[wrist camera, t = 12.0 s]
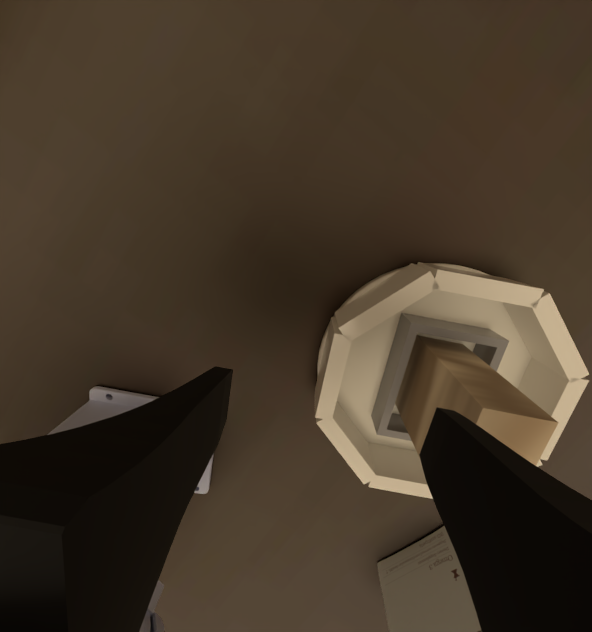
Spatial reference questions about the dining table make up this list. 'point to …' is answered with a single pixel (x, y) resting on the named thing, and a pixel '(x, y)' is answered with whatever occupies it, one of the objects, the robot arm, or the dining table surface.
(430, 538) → the supplement box
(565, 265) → the dining table surface
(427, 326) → the octagonal cream tray
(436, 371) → the tan wooden block
